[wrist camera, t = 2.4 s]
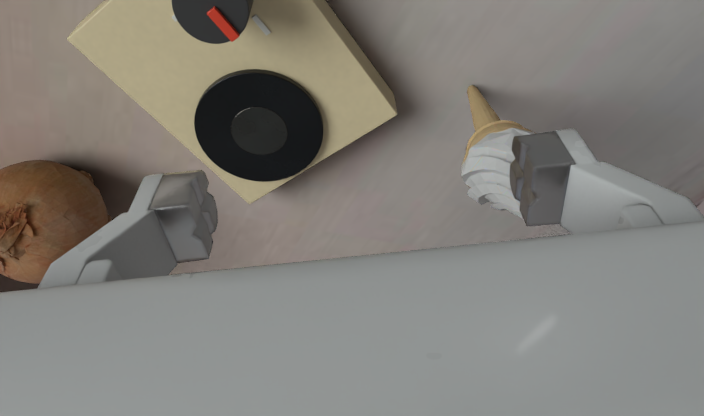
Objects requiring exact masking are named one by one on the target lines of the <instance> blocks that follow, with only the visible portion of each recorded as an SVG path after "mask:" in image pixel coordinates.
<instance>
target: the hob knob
mask: <svg viewBox="0 0 704 416" xmlns="http://www.w3.org/2000/svg"><path fill="white" fill-rule="evenodd" d="M253 1H254V0H172V8H173V12H174V15H175V17H176V19H177V21H178V22H179V24H180V25H181V27H182V28H183V29H184V30H185V31H186V32H187V33H188V34H190V35H191V36H192V37H194V38H196V39H198V40H200V41H203V42H206V43H210V44H222V43H226V42H229V41H231V42H233V41H234V40H236V39H237V38H238V37H239V36H240V34H241V33H242V32H243V31H244V29H245V27H246V25H247V23H248V19H249V16H250V12H251V8H252V5H253Z"/></svg>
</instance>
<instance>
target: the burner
mask: <svg viewBox="0 0 704 416" xmlns="http://www.w3.org/2000/svg"><path fill="white" fill-rule="evenodd" d="M194 127H195V133H196V137H197V140H198V142H199V144H200V146H201V148H202V150H203V151H204V153H205V154H206V155H207V156H208V158H209V159H210V160H211V161H212V162H213V163H215V164H216V165H217V166H218V167H220V168H221V169H223V170H224V171H226V172H228V173H230V174H232V175H234V176H237V177H239V178H243V179H246V180H251V181H260V182H268V181H277V180H282V179H285V178H288V177H291V176H293V175H295V174H297V173H299V172H300V171H302V170H303V169H305V168H306V167H307V166H308V165H309V164H310V163H311V162H312V161H313V160H314V158H315V157H316V155H317V154H318V152H319V150H320V147H321V144H322V140H323V120H322V115H321V112H320V109H319V107H318V105H317V103H316V102H315V100H314V99H313V97H312V96H311V95H310V94H309V92H308V91H307V90H306V89H305V88H303V87H302V86H301V85H300V84H298V83H297V82H295V81H294V80H292V79H291V78H289V77H286V76H284V75H282V74H279V73H276V72H273V71H268V70H260V69H246V70H240V71H236V72H232V73H229V74H227V75H225V76H223V77H221V78H219V79H218V80H216V81H215V82H213V83H212V84H211V85H210V86H209V87H208V88H207V89H206V90H205V92H204V93H203V95H202V96H201V98H200V100H199V102H198V105H197V108H196V112H195V117H194Z"/></svg>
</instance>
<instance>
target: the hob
mask: <svg viewBox="0 0 704 416" xmlns="http://www.w3.org/2000/svg"><path fill="white" fill-rule="evenodd" d="M67 40H68V41H69V42H70V43H71V44H72V45H74V46H75V47H76V48H77V49H78V50H79V51H80V52H81V53H82V54H84V55H85V56H86V57H87V58H88V59H89V60H90V61H91V62H92V63H93V64H95V65H96V66H97V67H98V68H99V69H100V70H101V71H102V72H103V73H105V74H106V75H107V76H108V77H109V78H110V79H111V80H112V81H113V82H115V83H116V84H117V85H118V86H119V87H120V88H121V89H122V90H123V91H124V92H126V93H127V94H128V95H129V96H130V97H131V98H132V99H133V100H134V101H136V102H137V103H138V104H139V105H140V106H141V107H142V108H143V109H144V110H146V111H147V112H148V113H149V114H150V115H151V116H152V117H153V118H154V119H155V120H157V121H158V122H159V123H160V124H161V125H162V126H163V127H164V128H165V129H167V130H168V131H169V132H170V133H171V134H172V135H173V136H174V137H175V138H177V139H178V140H179V141H180V142H181V143H182V144H183V145H184V146H185V147H186V148H188V149H189V150H190V151H191V152H192V153H193V154H194V155H195V156H196V157H198V158H199V159H200V160H201V161H202V162H203V163H204V164H205V165H206V166H208V167H209V168H210V169H211V170H212V171H213V172H214V173H215V174H216V175H217V176H219V177H220V178H221V179H222V180H223V181H224V182H225V183H226V184H227V185H229V186H230V187H231V188H232V189H233V190H234V191H235V192H236V193H237V194H239V195H240V196H241V197H242V198H243V199H244V200H245V201H246V202H247V203H248V204H251V203H253V202H254V201H256V200H258V199H259V198H261V197H263V196H264V195H266V194H268V193H269V192H271V191H273V190H274V189H276V188H277V187H279V186H281V185H282V184H284V183H286V182H287V181H289V180H291V179H292V178H294V177H296V176H297V175H299V174H301V173H302V172H304V171H306V170H307V169H309V168H311V167H312V166H314V165H315V164H317V163H319V162H320V161H322V160H324V159H325V158H327V157H329V156H330V155H332V154H334V153H335V152H337V151H339V150H340V149H342V148H344V147H345V146H347V145H349V144H350V143H352V142H353V141H355V140H357V139H358V138H360V137H362V136H363V135H365V134H367V133H368V132H370V131H372V130H373V129H375V128H377V127H378V126H380V125H382V124H383V123H385V122H386V121H388V120H390V119H391V118H393V117H395V116H396V115H397V109H396V103H395V98H394V94H393V92H392V91H391V90H390V88H389V87H388V85H387V84H386V83H385V81H384V80H383V79H382V77H381V76H380V75H379V73H378V72H377V70H376V69H375V68H374V66H373V65H372V64H371V62H370V61H369V59H368V58H367V57H366V55H365V54H364V53H363V51H362V50H361V49H360V47H359V46H358V44H357V43H356V42H355V40H354V39H353V38H352V36H351V35H350V34H349V32H348V31H347V29H346V28H345V27H344V25H343V24H342V23H341V21H340V20H339V18H338V17H337V16H336V14H335V13H334V12H333V10H332V9H331V8H330V6H329V5H328V3H327V2H326V1H325V0H254V1H253V5H252V8H251V12H250V16H249V19H248V23H247V25H246V27H245V29H244V31H243V32H242V33H241V34H240V36H239V37H238V38H237V39H236V40H234V41H233V42H231V41H229V42H226V43H222V44H210V43H206V42H203V41H200V40H198V39H196V38H194V37H192V36H191V35H190V34H188V33H187V32H186V31H185V30H184V29H183V28H182V27H181V25H180V24H179V22H178V21H177V19H176V17H175V15H174V12H173V8H172V0H105V1H104V2H103V3H101V4H100V5H99V6H98V7H97V8H96V9H95V10H94V11H92V12H91V13H90V14H89V15H88V16H87V17H86V18H85V19H83V20H82V21H81V23H80V24H79V25H78V26H77V27H76V28H75V30H74V31H73V32H72V33H71V34H70V35H69V37H68V38H67ZM246 69H260V70H268V71H273V72H276V73H279V74H282V75H284V76H286V77H289V78H291V79H292V80H294V81H295V82H297V83H298V84H300V85H301V86H302V87H303V88H305V89H306V90H307V91H308V92H309V94H310V95H311V96H312V97H313V99H314V100H315V102H316V103H317V105H318V107H319V109H320V112H321V115H322V120H323V140H322V144H321V147H320V150H319V152H318V154H317V155H316V157H315V158H314V160H313V161H312V162H311V163H310V164H309V165H308V166H307V167H306V168H305V169H303V170H302V171H300V172H299V173H297V174H295V175H293V176H291V177H288V178H285V179H282V180H277V181H268V182H260V181H251V180H246V179H243V178H239V177H237V176H234V175H232V174H230V173H228V172H226V171H224V170H223V169H221V168H220V167H218V166H217V165H216V164H215V163H213V162H212V161H211V160H210V159H209V158H208V156H207V155H206V154H205V153H204V151H203V150H202V148H201V146H200V144H199V142H198V140H197V137H196V133H195V127H194V117H195V112H196V108H197V105H198V102H199V100H200V98H201V96H202V95H203V93H204V92H205V90H206V89H207V88H208V87H209V86H210V85H211V84H212V83H213V82H215V81H216V80H218V79H219V78H221V77H223V76H225V75H227V74H229V73H232V72H236V71H240V70H246Z"/></svg>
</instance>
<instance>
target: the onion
mask: <svg viewBox="0 0 704 416" xmlns="http://www.w3.org/2000/svg"><path fill="white" fill-rule="evenodd" d="M92 182H94V181H93V179H92V177H91V175H90V174H89V173H87V172H85V171H77V170H75V169H72V168H70V167H68V166H65V165H62V164H59V163H56V162H52V161H45V160H33V161H25V162H21V163H17V164H14V165H10V166H8V167H5V168H3V169H1V170H0V274H2V275H4V276H6V277H8V278H11V279H13V280H17V281H21V282H27V283H33V284H40V282H41V281H42V279H43V277H44V275H45V273H46V272H47V270H48V268H49V266H50V265H51V263H53V262H54V261H56V260H57V259H58V258H60V257H61V256H63V255H64V254H65V253H67V252H68V251H70V250H71V249H72V248H74V247H75V246H77V245H78V244H79V243H81V242H82V241H84V240H85V239H87V238H88V237H89V236H91V235H92V234H94V233H95V232H96V231H98V230H99V229H101V228H102V227H103V226H105V225H106V224H108V223H109V222H110V221H111V217H110V215H107V209H106V206H105V203H104V201H103V198H102V196H101V194H100V191H99V189H97V188H96V187H95V186H94V184H93V183H92Z"/></svg>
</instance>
